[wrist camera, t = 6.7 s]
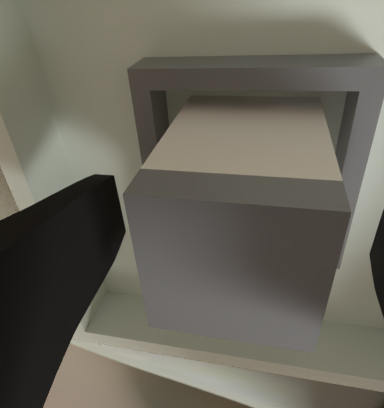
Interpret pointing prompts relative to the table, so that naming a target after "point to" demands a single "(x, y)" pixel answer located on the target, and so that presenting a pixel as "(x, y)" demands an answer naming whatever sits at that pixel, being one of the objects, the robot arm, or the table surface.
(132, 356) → the table surface
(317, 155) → the tan and grey block
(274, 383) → the table surface
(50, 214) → the robot arm
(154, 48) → the walled box
